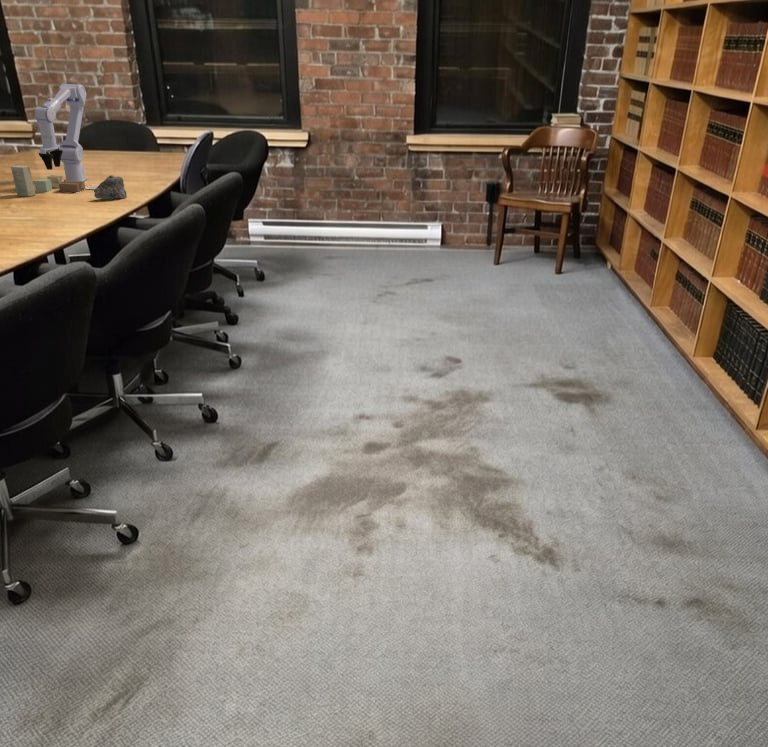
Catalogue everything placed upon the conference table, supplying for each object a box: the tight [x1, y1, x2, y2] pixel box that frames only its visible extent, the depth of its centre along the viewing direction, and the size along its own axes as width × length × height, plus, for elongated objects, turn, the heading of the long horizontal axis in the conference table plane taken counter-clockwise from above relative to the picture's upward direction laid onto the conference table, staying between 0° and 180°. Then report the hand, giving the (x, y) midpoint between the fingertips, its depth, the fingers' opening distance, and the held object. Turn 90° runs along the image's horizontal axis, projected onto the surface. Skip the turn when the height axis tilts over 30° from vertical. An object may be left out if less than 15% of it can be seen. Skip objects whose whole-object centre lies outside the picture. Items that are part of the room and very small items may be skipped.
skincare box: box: [10, 164, 36, 197], centre depth 281 cm, size 6×4×12 cm
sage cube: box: [33, 178, 53, 193], centre depth 291 cm, size 5×5×5 cm
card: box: [85, 184, 98, 190], centre depth 304 cm, size 10×7×1 cm
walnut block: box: [58, 179, 86, 193], centre depth 295 cm, size 8×8×4 cm
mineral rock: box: [93, 174, 128, 200], centre depth 283 cm, size 13×11×10 cm
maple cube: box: [46, 174, 65, 189], centre depth 300 cm, size 5×5×5 cm
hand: (53, 168), depth 298 cm, fingers open, 7 cm apart
